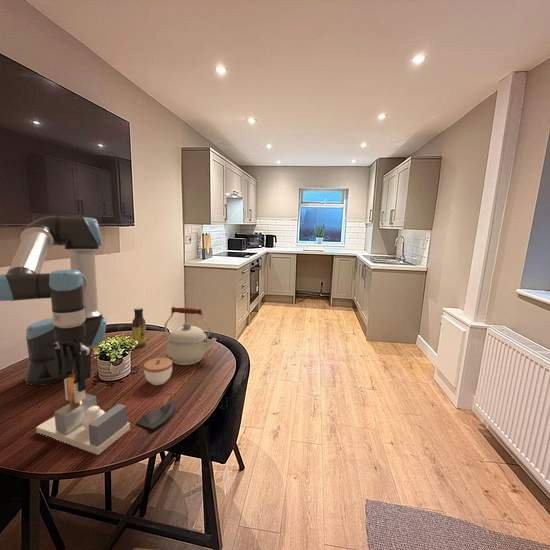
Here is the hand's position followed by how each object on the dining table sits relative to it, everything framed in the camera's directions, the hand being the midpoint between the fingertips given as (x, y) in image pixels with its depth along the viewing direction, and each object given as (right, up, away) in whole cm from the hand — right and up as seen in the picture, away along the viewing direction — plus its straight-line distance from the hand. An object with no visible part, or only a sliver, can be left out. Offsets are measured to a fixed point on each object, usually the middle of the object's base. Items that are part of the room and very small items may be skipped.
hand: (75, 398), depth 86 cm
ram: (0, -8, +1) cm, 8 cm away
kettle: (+20, -3, +51) cm, 55 cm away
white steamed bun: (+6, -9, -1) cm, 11 cm away
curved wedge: (+22, -10, +8) cm, 26 cm away
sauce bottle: (-11, 0, +64) cm, 65 cm away
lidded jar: (+13, -6, +30) cm, 33 cm away
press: (+2, -10, +1) cm, 10 cm away
